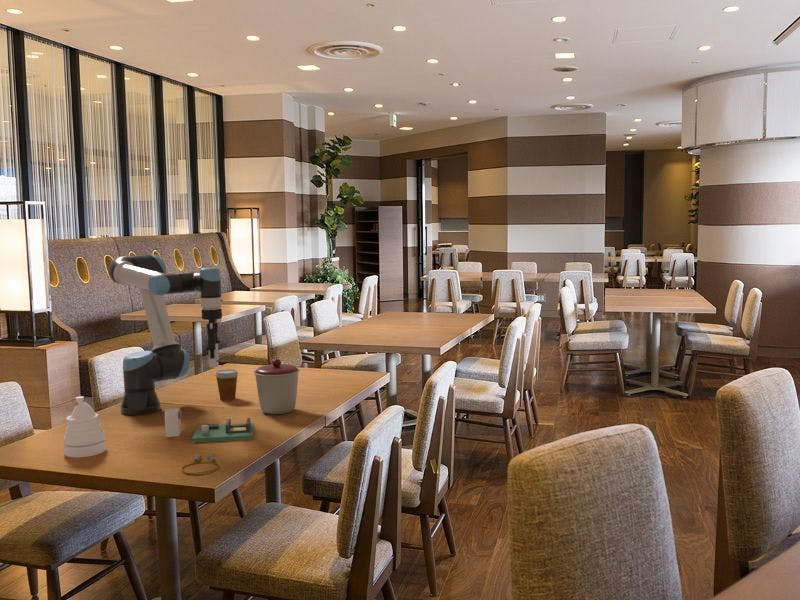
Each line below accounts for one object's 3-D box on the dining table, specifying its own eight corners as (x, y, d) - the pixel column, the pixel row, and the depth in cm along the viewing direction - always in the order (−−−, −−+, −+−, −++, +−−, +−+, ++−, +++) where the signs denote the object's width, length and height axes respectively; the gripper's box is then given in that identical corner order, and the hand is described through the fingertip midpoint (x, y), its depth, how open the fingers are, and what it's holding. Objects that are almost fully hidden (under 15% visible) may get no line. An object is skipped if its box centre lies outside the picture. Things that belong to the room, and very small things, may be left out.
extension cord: (233, 461, 233) (232, 455, 233) (206, 478, 218) (205, 471, 218) (199, 458, 237) (199, 452, 237) (170, 474, 222) (170, 468, 222)
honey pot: (58, 451, 245) (54, 398, 243) (96, 443, 254) (93, 391, 252) (73, 460, 236) (69, 405, 234) (112, 450, 245) (109, 397, 243)
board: (191, 442, 252) (191, 429, 252) (198, 429, 268) (197, 417, 268) (251, 439, 255) (250, 426, 254) (254, 426, 271) (253, 414, 270)
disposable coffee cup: (226, 402, 308) (225, 374, 306) (211, 399, 313) (210, 372, 312) (243, 398, 315) (242, 370, 314) (229, 395, 321) (228, 368, 319)
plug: (165, 437, 260) (164, 412, 259) (167, 433, 264) (166, 408, 263) (181, 436, 260) (179, 411, 259) (183, 432, 265) (181, 408, 264)
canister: (274, 403, 305) (272, 353, 302) (310, 408, 296) (308, 356, 294) (245, 414, 289) (243, 361, 286) (282, 419, 280) (280, 364, 278)
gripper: (220, 311, 269) (222, 369, 271) (223, 304, 293) (225, 357, 295) (198, 312, 267) (201, 370, 269) (203, 305, 292) (206, 358, 294)
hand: (214, 363), depth 282 cm, fingers open, 13 cm apart
